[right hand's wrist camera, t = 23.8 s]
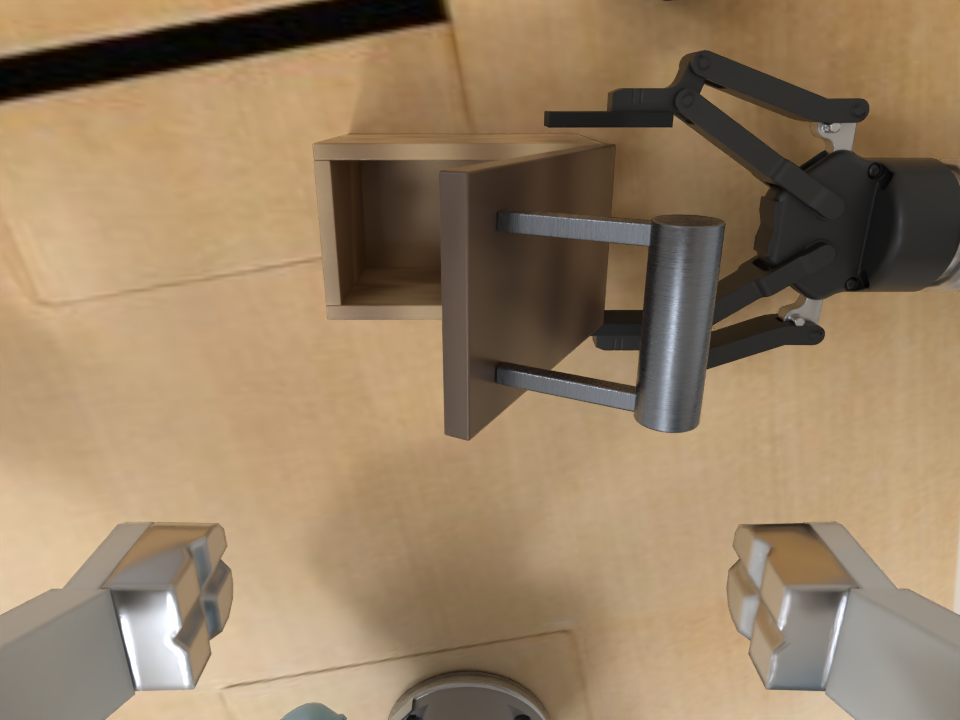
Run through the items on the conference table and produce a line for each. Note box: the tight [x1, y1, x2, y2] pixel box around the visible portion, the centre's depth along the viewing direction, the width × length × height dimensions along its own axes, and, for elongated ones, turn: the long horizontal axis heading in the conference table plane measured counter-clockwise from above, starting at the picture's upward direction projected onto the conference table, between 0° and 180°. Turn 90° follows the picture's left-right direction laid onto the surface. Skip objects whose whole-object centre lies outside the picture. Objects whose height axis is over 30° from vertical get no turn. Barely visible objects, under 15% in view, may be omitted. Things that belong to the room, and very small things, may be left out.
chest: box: [313, 134, 603, 320], centre depth 40 cm, size 15×9×10 cm, turn 90°
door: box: [439, 144, 725, 440], centre depth 27 cm, size 15×9×8 cm
